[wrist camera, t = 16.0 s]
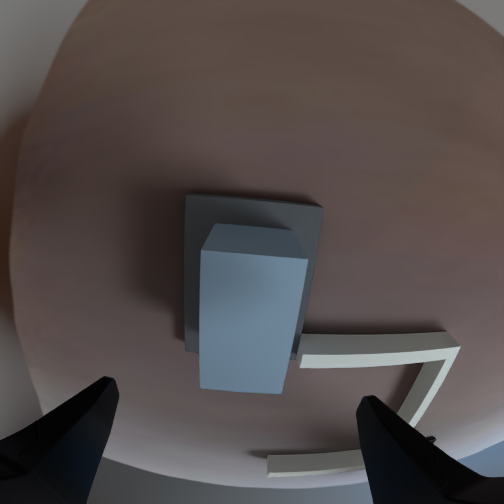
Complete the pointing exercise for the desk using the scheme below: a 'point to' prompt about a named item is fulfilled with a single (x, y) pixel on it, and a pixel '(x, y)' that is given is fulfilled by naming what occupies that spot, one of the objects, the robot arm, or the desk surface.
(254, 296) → the blank block
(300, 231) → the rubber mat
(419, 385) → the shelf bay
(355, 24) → the desk surface
